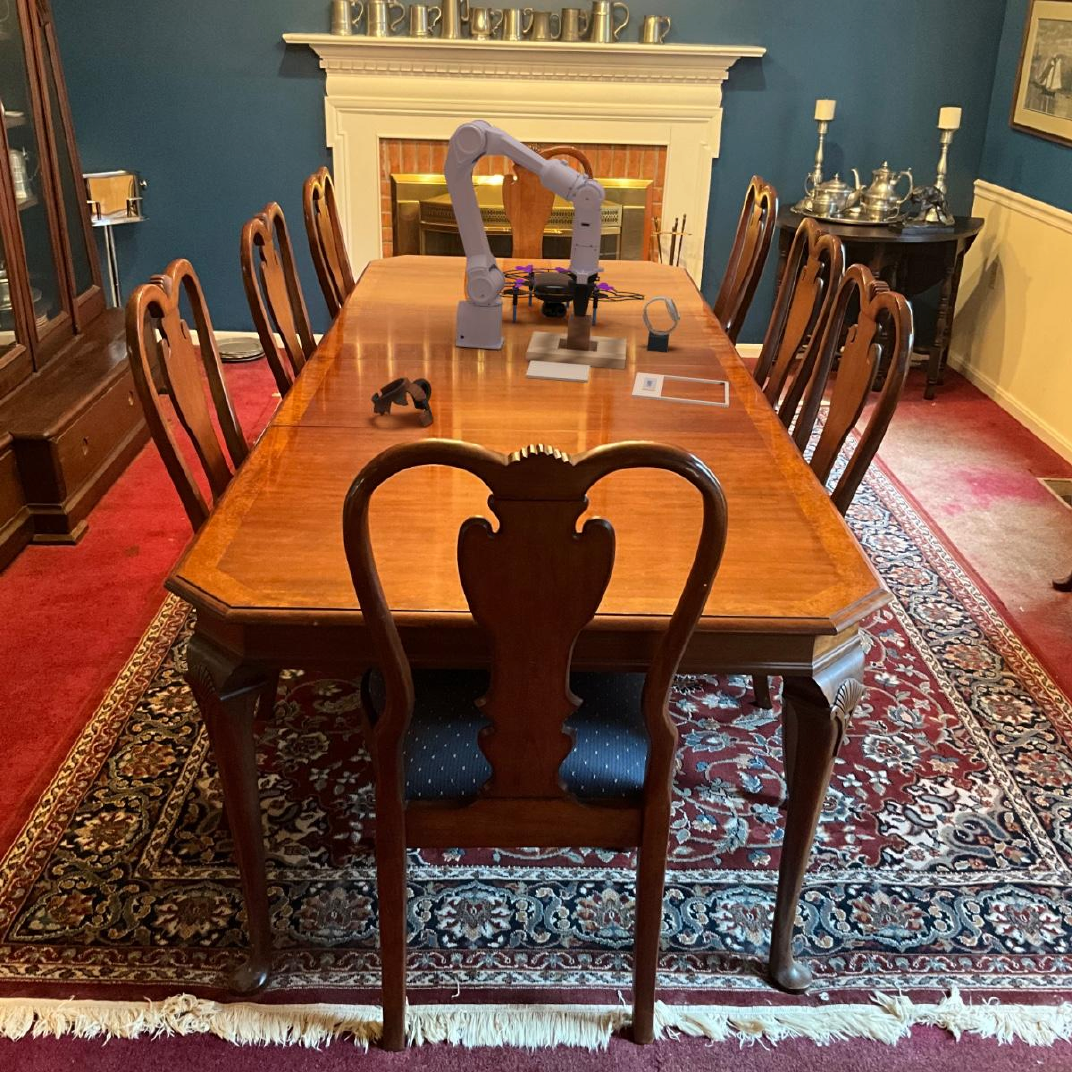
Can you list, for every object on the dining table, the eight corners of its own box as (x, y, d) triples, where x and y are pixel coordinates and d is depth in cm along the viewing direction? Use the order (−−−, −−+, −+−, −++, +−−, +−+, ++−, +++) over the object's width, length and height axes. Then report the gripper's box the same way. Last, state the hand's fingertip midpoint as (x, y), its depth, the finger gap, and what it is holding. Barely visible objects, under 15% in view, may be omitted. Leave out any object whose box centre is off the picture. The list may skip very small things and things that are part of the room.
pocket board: (526, 361, 216) (526, 351, 215) (533, 340, 230) (533, 331, 229) (624, 369, 215) (625, 359, 214) (625, 347, 229) (626, 338, 228)
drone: (467, 283, 233) (467, 257, 258) (466, 326, 237) (465, 297, 263) (648, 291, 237) (629, 264, 262) (643, 333, 241) (626, 304, 266)
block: (565, 356, 221) (568, 318, 217) (567, 350, 225) (570, 313, 221) (587, 358, 220) (590, 320, 217) (588, 352, 224) (591, 314, 221)
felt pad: (525, 377, 206) (525, 375, 206) (530, 362, 215) (530, 360, 215) (587, 382, 205) (587, 380, 205) (589, 367, 214) (590, 365, 214)
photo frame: (637, 371, 211) (728, 380, 209) (636, 376, 212) (727, 386, 210) (631, 393, 198) (729, 403, 196) (631, 399, 199) (728, 409, 197)
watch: (676, 353, 228) (682, 302, 223) (638, 349, 228) (643, 298, 224) (676, 346, 233) (682, 296, 228) (640, 342, 233) (645, 292, 229)
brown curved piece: (421, 436, 175) (395, 394, 172) (381, 448, 181) (355, 407, 178) (455, 400, 184) (431, 359, 180) (415, 412, 189) (391, 372, 186)
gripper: (604, 252, 206) (599, 321, 212) (606, 239, 219) (601, 304, 225) (568, 250, 206) (563, 319, 212) (572, 236, 219) (568, 302, 225)
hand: (580, 311), depth 219 cm, fingers open, 7 cm apart
